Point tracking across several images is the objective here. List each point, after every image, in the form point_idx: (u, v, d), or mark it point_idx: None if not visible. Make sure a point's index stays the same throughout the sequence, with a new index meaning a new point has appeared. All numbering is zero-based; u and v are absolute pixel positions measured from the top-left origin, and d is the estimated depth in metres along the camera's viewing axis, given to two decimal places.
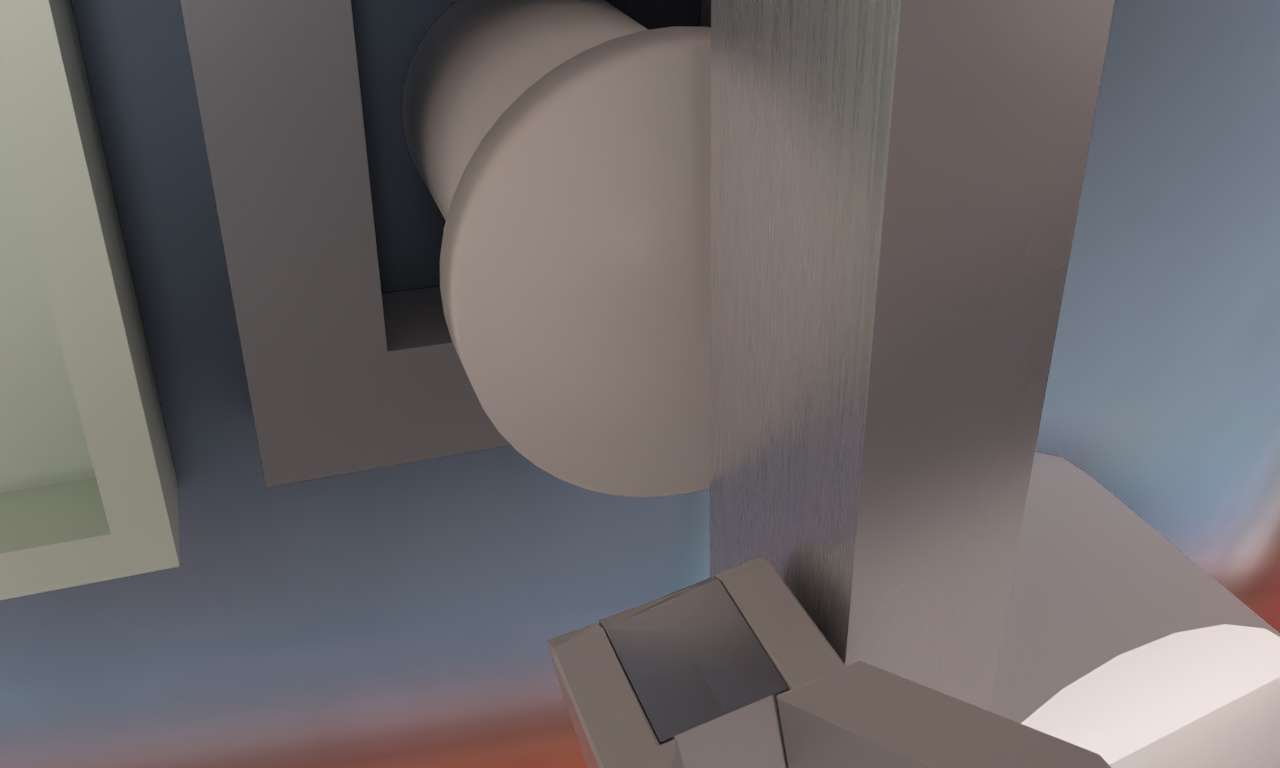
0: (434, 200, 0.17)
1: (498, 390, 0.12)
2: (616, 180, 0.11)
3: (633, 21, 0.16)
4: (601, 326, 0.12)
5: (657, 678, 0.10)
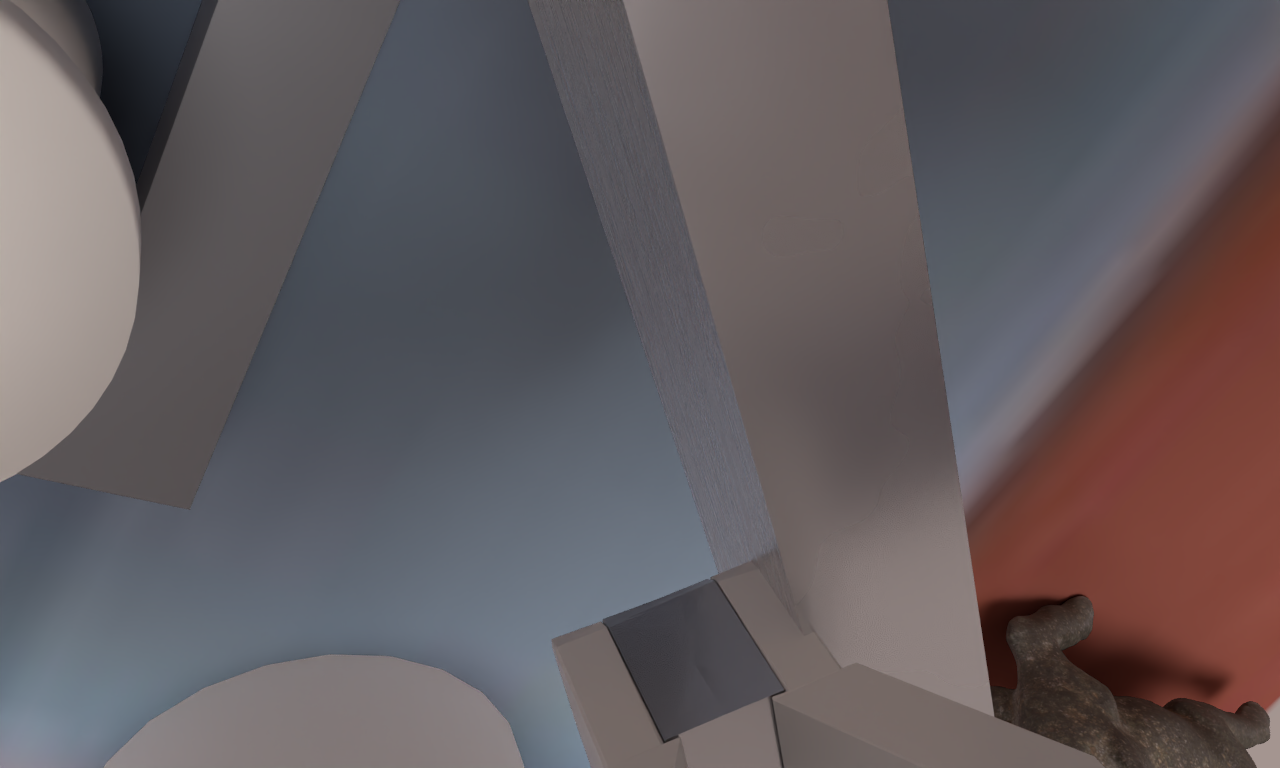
0: None
1: None
2: None
3: None
4: None
5: (653, 680, 0.10)
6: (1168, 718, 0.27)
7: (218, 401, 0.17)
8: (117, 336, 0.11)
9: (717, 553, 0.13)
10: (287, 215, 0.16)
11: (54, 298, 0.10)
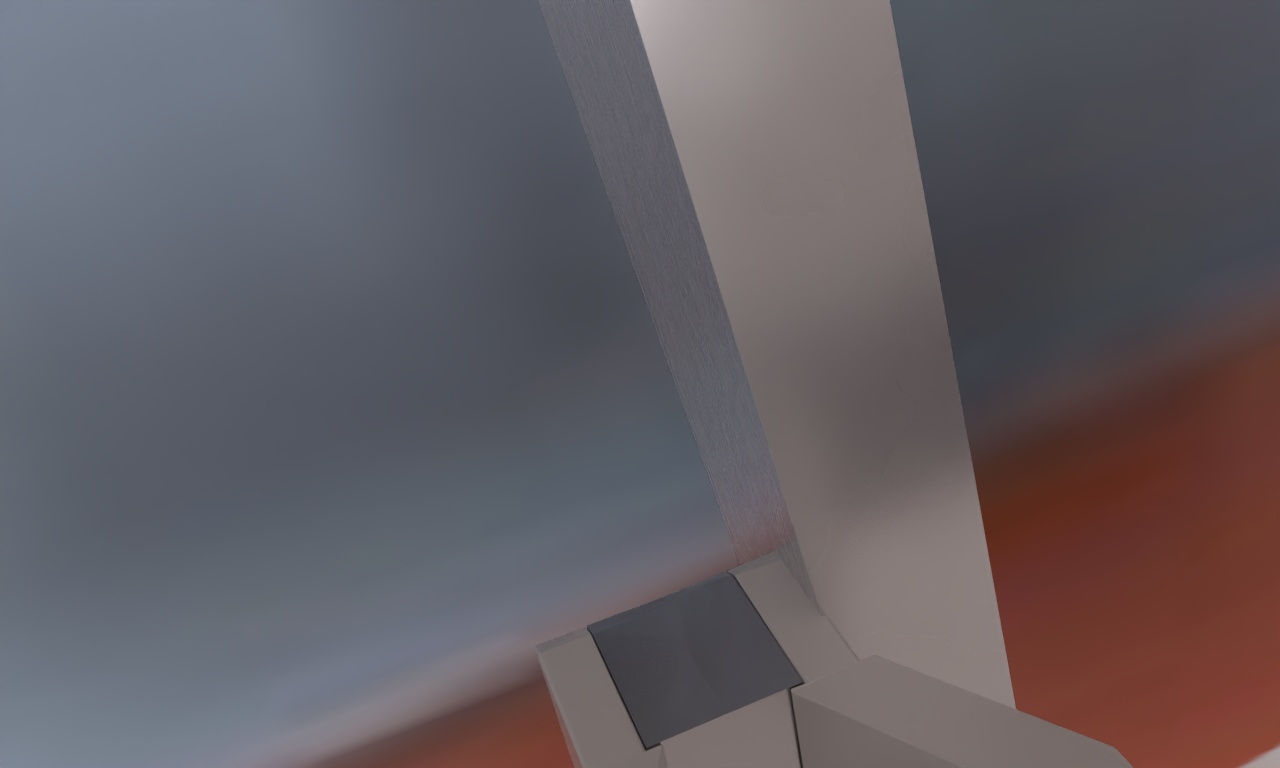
0: None
1: None
2: None
3: None
4: None
5: (671, 672, 0.10)
6: None
7: None
8: None
9: (732, 528, 0.13)
10: None
11: None
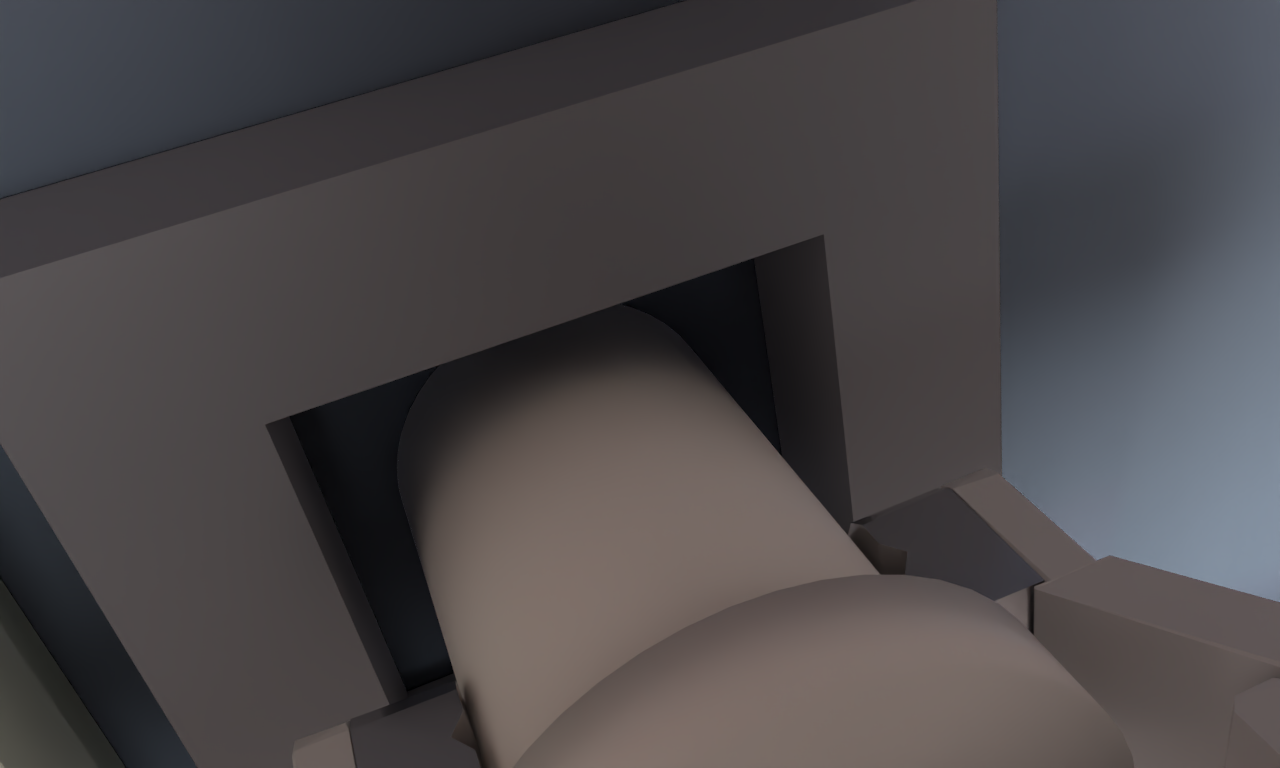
0: None
1: None
2: None
3: (671, 395, 0.11)
4: None
5: (910, 574, 0.10)
6: None
7: None
8: None
9: None
10: (978, 398, 0.13)
11: None
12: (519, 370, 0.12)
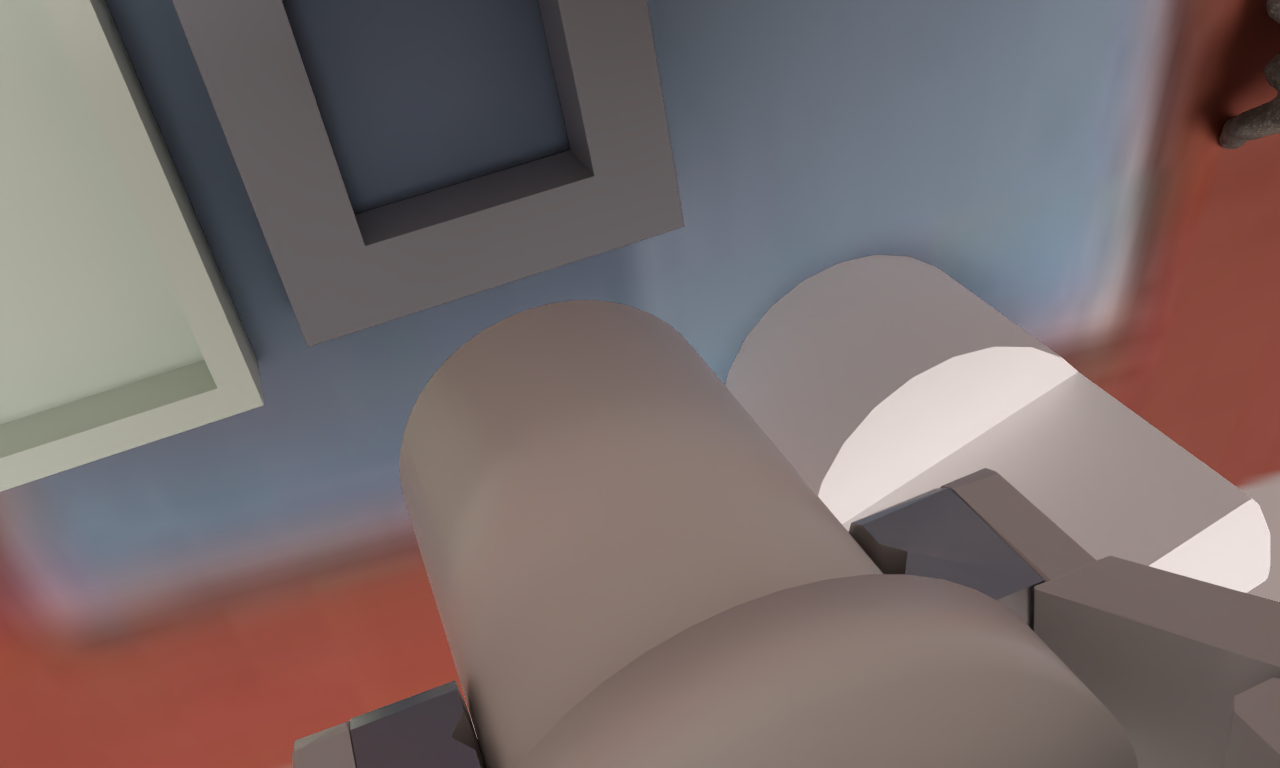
0: None
1: None
2: None
3: (674, 395, 0.11)
4: None
5: (910, 574, 0.10)
6: None
7: (664, 158, 0.28)
8: None
9: None
10: (640, 37, 0.26)
11: None
12: (522, 370, 0.12)
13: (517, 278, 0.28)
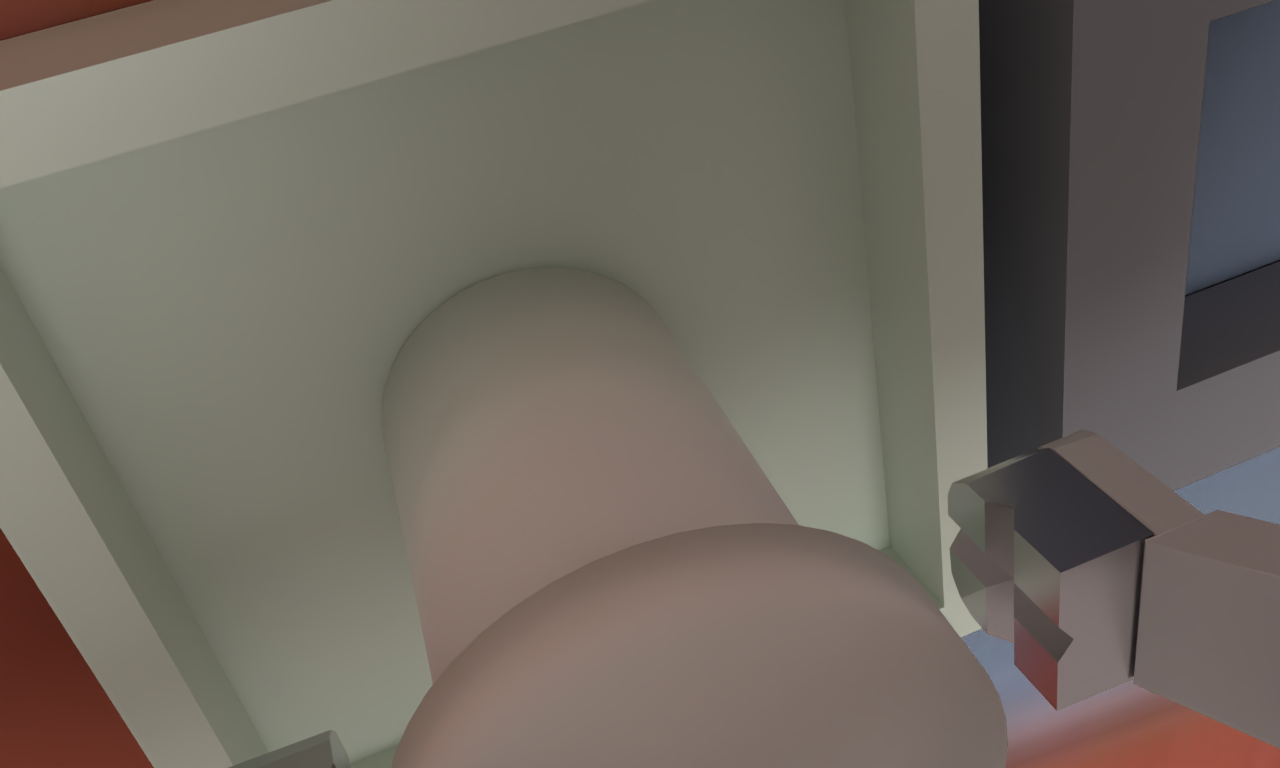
0: None
1: None
2: None
3: (624, 358, 0.12)
4: None
5: (1020, 529, 0.10)
6: None
7: None
8: (996, 739, 0.10)
9: None
10: None
11: (932, 748, 0.10)
12: (489, 330, 0.13)
13: None
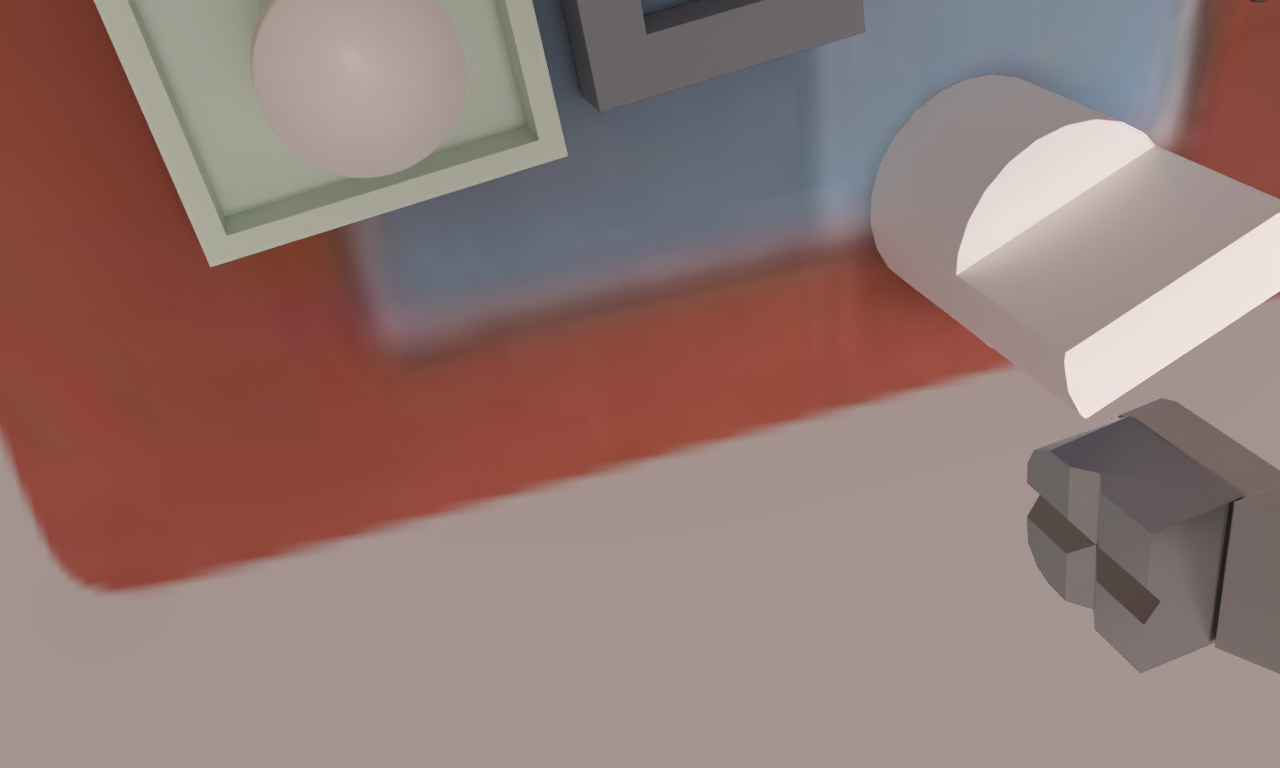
0: None
1: (285, 132, 0.29)
2: (307, 32, 0.28)
3: None
4: (322, 97, 0.29)
5: (1108, 493, 0.10)
6: None
7: None
8: (458, 45, 0.29)
9: None
10: None
11: (433, 44, 0.29)
12: None
13: (746, 66, 0.38)
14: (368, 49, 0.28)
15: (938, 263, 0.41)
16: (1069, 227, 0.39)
